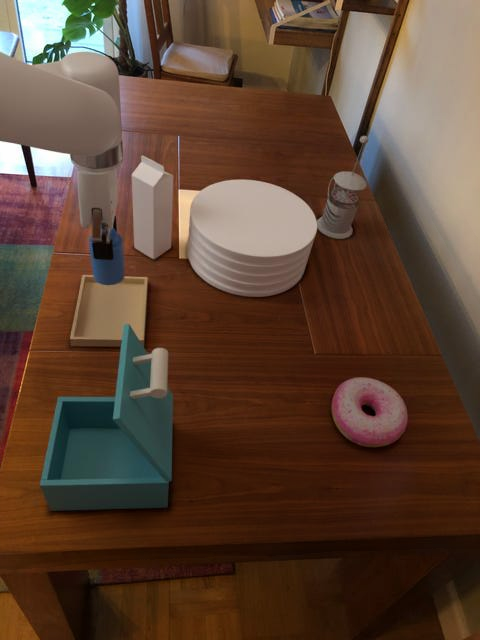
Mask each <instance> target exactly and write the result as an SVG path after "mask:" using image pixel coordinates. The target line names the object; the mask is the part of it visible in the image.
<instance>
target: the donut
mask: <svg viewBox="0 0 480 640" xmlns="http://www.w3.org/2000/svg"><path fill="white" fill-rule="evenodd" d="M363 406H367V407H370V408H371V409H372V410H373V411H374V413H375V415H369V414H367V413H366V412H364V411H363V409H362V407H363ZM406 406H407V405H406V403H405V401H404V399H403V398H402V396H401V395H400V394H399V393H398V392H397V391H396V390H395V389H394V388H392V387H391V386H390V385H388V384H386V383H385V382H383V381H380V380H378V379H375V378H371V377H364V376H363V377H362V376H360V377H359V376H358V377H352V378H350V379H347V380H344V381H343V382H342V383H340V384H339V385H338V387H337V388H336V389H335V392H334V394H333V395H332V400H331V407H330V408H331V409H330V410H331V414H332V419H333V421H334V424H335V427H336V428H337V429H338V431H339V432H340V434H342V435H343V436H344V437H345V438H346V440H349V441H350V442H352V443H354V444H356V445H358V446H362V447H366V448H378V447H379V448H380V447H385V446H389V445H391V444H393V443H395V442H396V441H397V440H399V439H400V437H401V436H402V435H403V434H404V432H405V431H406V428H407V425H408V419H409V418H408V417H409V416H408V409H407V407H406Z"/></svg>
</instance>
